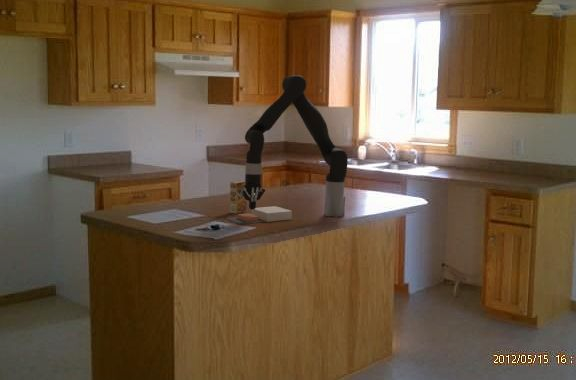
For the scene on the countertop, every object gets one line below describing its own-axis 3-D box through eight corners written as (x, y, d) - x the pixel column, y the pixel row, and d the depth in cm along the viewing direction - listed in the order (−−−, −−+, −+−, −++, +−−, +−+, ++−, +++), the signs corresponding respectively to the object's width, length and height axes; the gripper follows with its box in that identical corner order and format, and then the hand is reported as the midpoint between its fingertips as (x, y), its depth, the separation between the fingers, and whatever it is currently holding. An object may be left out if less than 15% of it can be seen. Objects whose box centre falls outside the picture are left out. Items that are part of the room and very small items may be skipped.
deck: (275, 214, 338) (275, 206, 337) (291, 219, 327) (291, 211, 326) (251, 216, 330) (251, 208, 329) (267, 221, 319) (267, 213, 318)
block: (237, 214, 322) (237, 218, 322) (247, 217, 315) (247, 221, 315) (248, 213, 325) (247, 217, 326) (258, 216, 318) (258, 220, 319)
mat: (250, 216, 329) (250, 215, 329) (266, 221, 318) (266, 221, 318) (225, 218, 321) (225, 218, 321) (240, 224, 310) (240, 223, 310)
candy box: (236, 214, 335) (236, 183, 332) (229, 212, 337) (230, 182, 335) (247, 211, 342) (247, 181, 340) (240, 210, 344) (241, 180, 342)
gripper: (260, 171, 325) (259, 206, 328) (237, 172, 318) (236, 208, 320) (269, 173, 319) (268, 209, 322) (245, 174, 312) (244, 211, 314)
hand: (252, 209), depth 321 cm, fingers closed
